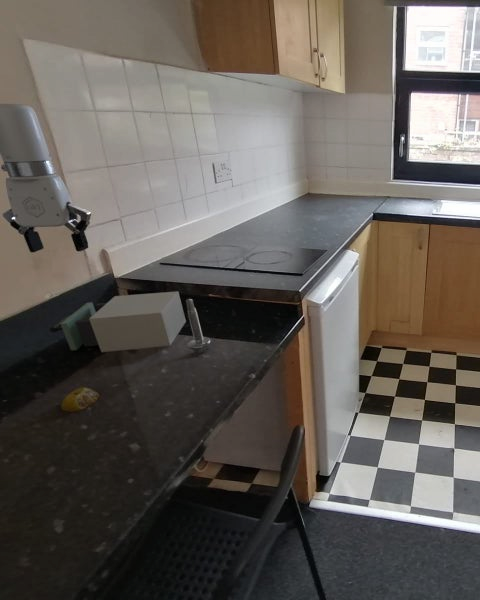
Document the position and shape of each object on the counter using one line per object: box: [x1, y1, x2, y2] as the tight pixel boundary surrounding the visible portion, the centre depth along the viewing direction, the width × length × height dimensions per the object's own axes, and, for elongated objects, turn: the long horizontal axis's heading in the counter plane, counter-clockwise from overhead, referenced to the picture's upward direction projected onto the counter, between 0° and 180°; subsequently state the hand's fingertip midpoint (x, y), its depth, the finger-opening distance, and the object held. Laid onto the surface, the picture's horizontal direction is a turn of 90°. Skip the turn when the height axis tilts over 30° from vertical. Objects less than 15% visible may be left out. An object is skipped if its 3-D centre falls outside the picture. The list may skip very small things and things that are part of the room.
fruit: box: [60, 386, 100, 412], centre depth 73 cm, size 8×8×4 cm
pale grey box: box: [89, 290, 187, 353], centre depth 96 cm, size 15×13×9 cm
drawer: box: [49, 301, 108, 351], centre depth 95 cm, size 18×11×7 cm, turn 101°
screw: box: [185, 298, 212, 354], centre depth 89 cm, size 13×5×5 cm
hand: (60, 250), depth 90 cm, fingers open, 9 cm apart
